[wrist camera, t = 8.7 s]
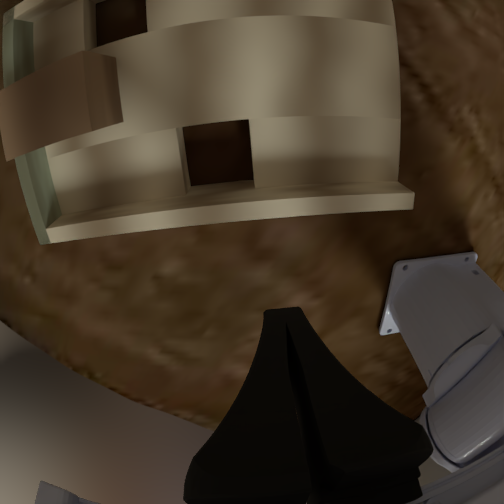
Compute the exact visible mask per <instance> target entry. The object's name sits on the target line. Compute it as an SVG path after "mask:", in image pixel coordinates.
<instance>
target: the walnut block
mask: <svg viewBox="0 0 504 504" xmlns="http://www.w3.org/2000/svg"><path fill="white" fill-rule="evenodd" d="M122 122H124V121H123V114H122V107H121V99H120V91H119V83H118V73H117V63H116V57H112V56H108V55H103V54H98V53H93V52H88V51H83V50H82V51H80V52H77V53H75V54H72V55H70V56H67V57H65V58H63V59H61V60H58V61H56V62H54V63H52V64H49V65H47V66H45V67H43V68H41V69H39V70H37V71H35V72H33V73H31V74H29V75H27V76H25V77H24V78H22V79H20V80H18V81H16V82H15V83H13V84H11V85H9V86H8V87H6V88H4V89H3V90H1V91H0V130H1V136H2V142H3V147H4V152H5V157H6V161H9V160H11V159H14V158H16V157H18V156H21V155H23V154H26V153H29V152H31V151H34V150H37V149H39V148H42V147H45V146H48V145H50V144H53V143H56V142H59V141H62V140H65V139H69V138H72V137H75V136H78V135H82V134H85V133H89V132H92V131H95V130H98V129H101V128H105V127H108V126H111V125H115V124H118V123H122Z"/></svg>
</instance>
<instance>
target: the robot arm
mask: <svg viewBox="0 0 504 504" xmlns="http://www.w3.org/2000/svg"><path fill="white" fill-rule="evenodd" d="M465 258H466V259H465ZM476 260H477V254H476V253H475V252H467V253H459V254H451V255H444V256H436V257H428V258H420V259H411V260H403V261H398V262H396V263H395V264H394V266H393V271H392V276H391V281H390V285H389V290H388V295H387V299H386V303H385V308H384V312H383V316H382V320H381V324H380V327H379V333H380V335H387V334H392V333H397V332H400V333H401V335H402V337H403V339H404V341H405V343H406V344H407V346H408V348H409V350H410V352H411V354H412V356H413V358H414V360H415V362H416V364H417V366H418V368H419V370H420V372H421V374H422V376H423V378H424V380H425V382H426V385H427V387H428V390H427V391H426V392H425V393H424V394H423V395H422V396H423V399H424V401H425V403H426V405H427V406H426V407H425V408H424V409H423V411H422V413H421V415H420V424H419V423H417V422H415V421H413V420H411V419H410V418H408V417H406V416H404V415H403V414H401V413H400V412H398V411H397V410H395V409H394V408H392V407H391V406H389V405H388V404H386V403H385V402H383V401H382V400H381V399H380V398H378V397H377V396H376V395H374V394H373V393H372V392H371V391H369V390H368V389H367V388H366V387H364V386H363V385H362V384H361V383H360V382H359V381H358V380H357V379H356V378H355V377H354V376H352V375H351V374H350V373H349V372H348V371H347V370H346V369H345V367H344V366H343V365H342V364H341V363H340V362H339V361H338V360H337V359H336V358H335V356H334V355H333V354H332V353H331V352H330V350H329V349H328V348H327V347H326V345H325V344H324V343H323V341H322V340H321V339H320V337H319V336H318V335H317V333H316V332H315V330H314V329H313V327H312V326H311V324H310V323H309V321H308V320H307V318H306V316H305V315H304V313H303V311H302V309H301V308H300V307H290V308H280V309H269V310H266V311H264V320H263V328H262V333H261V337H260V341H259V344H258V348H257V351H256V354H255V357H254V360H253V362H252V365H251V368H250V370H249V373H248V375H247V377H246V380H245V382H244V384H243V386H242V388H241V390H240V392H239V394H238V396H237V397H236V399H235V401H234V403H233V404H232V406H231V408H230V410H229V411H228V413H227V414H226V416H225V417H224V419H223V420H222V422H221V423H220V425H219V426H218V427H217V429H216V430H215V432H214V433H213V434H212V436H211V437H210V438H209V440H208V441H207V442H206V443H205V444H204V445H203V447H202V448H201V449H200V450H199V451H198V453H197V454H196V455H195V456H194V457H193V459H192V461H191V464H190V466H189V469H188V472H187V475H186V479H185V484H184V497H183V499H184V501H185V502H186V503H187V504H306V502H307V504H421V503H422V504H504V292H503V291H502V290H501V289H500V288H499V287H498V286H497V285H496V283H495V282H494V281H493V280H492V279H491V278H490V277H489V276H488V275H487V274H486V273H485V272H484V271H483V270H482V269H481V268H480V267H479V266H478V265H477V264H476ZM405 265H406V266H405ZM404 266H405V267H404ZM403 267H404V268H403ZM295 408H296V409H295ZM296 412H297V414H296ZM297 417H298V419H297ZM298 422H299V423H298ZM429 457H431V458H432V459H433V460H434V461H435V462H436V463H437V464H439V465H441V466H443V467H444V468H446V469H447V470H449V471H450V472H451V474H449V475H447V476H444V477H442V478H440V479H438V480H435V481H433V482H431V483H428V484H426V485H423V486H420V483H419V480H418V478H419V477H420V476H421V473H420V470H419V466H420V465H421V464H423V463H424V462H425V461H426V460H427V459H428V458H429ZM35 504H99V503H95V502H92V501H89V500H86V499H83V498H79V497H78V496H77V495H75V494H73V493H71V492H69V491H67V490H65V489H62V488H60V487H57V486H54V485H52V484H49V483H47V482H44V481H40V484H39V488H38V492H37V496H36V500H35Z"/></svg>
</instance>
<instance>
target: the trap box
mask: <svg viewBox="0 0 504 504" xmlns="http://www.w3.org/2000/svg"><path fill="white" fill-rule="evenodd" d="M102 1H105V0H24V1H22V2H21V3H19V4H18V5H16V6H15V7H13V8H12V9H10V10H9V11H7V12H6V13H4V18H3V43H2V54H3V80H4V88H6V87H8V86H9V85H11V84H13V83H15V82H16V81H18V80H20V79H22V78H24V77H25V76H27V75H29V74H31V73H33V72H35V71H37V70H39V69H41V68H43V67H45V66H47V65H49V64H52V63H54V62H56V61H58V60H61V59H63V58H65V57H67V56H70V55H72V54H75V53H77V52H80V51H82V50H83V51H88V52H93V53H98V54H103V55H108V56H112V57H116V63H117V73H118V83H119V91H120V99H121V107H122V114H123V121H124V122H122V123H118V124H115V125H111V126H108V127H105V128H101V129H98V130H95V131H92V132H89V133H85V134H82V135H78V136H75V137H72V138H69V139H65V140H62V141H59V142H56V143H53V144H50V145H48V146H45V147H42V148H39V149H37V150H34V151H31V152H29V153H26V154H23V155H21V156H18V157H16V158H15V162H16V167H17V171H18V175H19V179H20V183H21V187H22V190H23V194H24V197H25V201H26V204H27V207H28V211H29V214H30V217H31V220H32V223H33V226H34V229H35V232H36V234H37V237H38V240H39V243H40V245H42V244H49V243H56V242H63V241H70V240H77V239H84V238H92V237H99V236H107V235H115V234H123V233H131V232H139V231H148V230H156V229H165V228H174V227H184V226H193V225H203V224H213V223H223V222H234V221H245V220H256V219H268V218H280V217H293V216H307V215H321V214H336V213H351V212H369V211H388V210H409V209H413V204H414V196H415V193H414V192H412V191H411V190H410V189H408V188H407V187H405V186H404V185H402V184H401V183H399V182H398V172H399V156H400V128H401V98H400V71H399V56H398V44H397V34H396V26H395V18H394V11H393V4H392V0H146V13H147V29H148V32H146V33H142V34H139V35H135V36H131V37H128V38H124V39H121V40H118V41H114V42H111V43H108V44H105V45H102V46H99V47H97V34H96V4H97V3H99V2H102ZM244 119H249V130H250V142H251V154H252V165H253V177H254V180H244V181H233V182H223V183H214V184H205V185H196V186H191V184H190V178H189V171H188V164H187V157H186V150H185V143H184V136H183V128H182V127H185V126H192V125H199V124H207V123H215V122H223V121H233V120H244Z"/></svg>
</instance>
